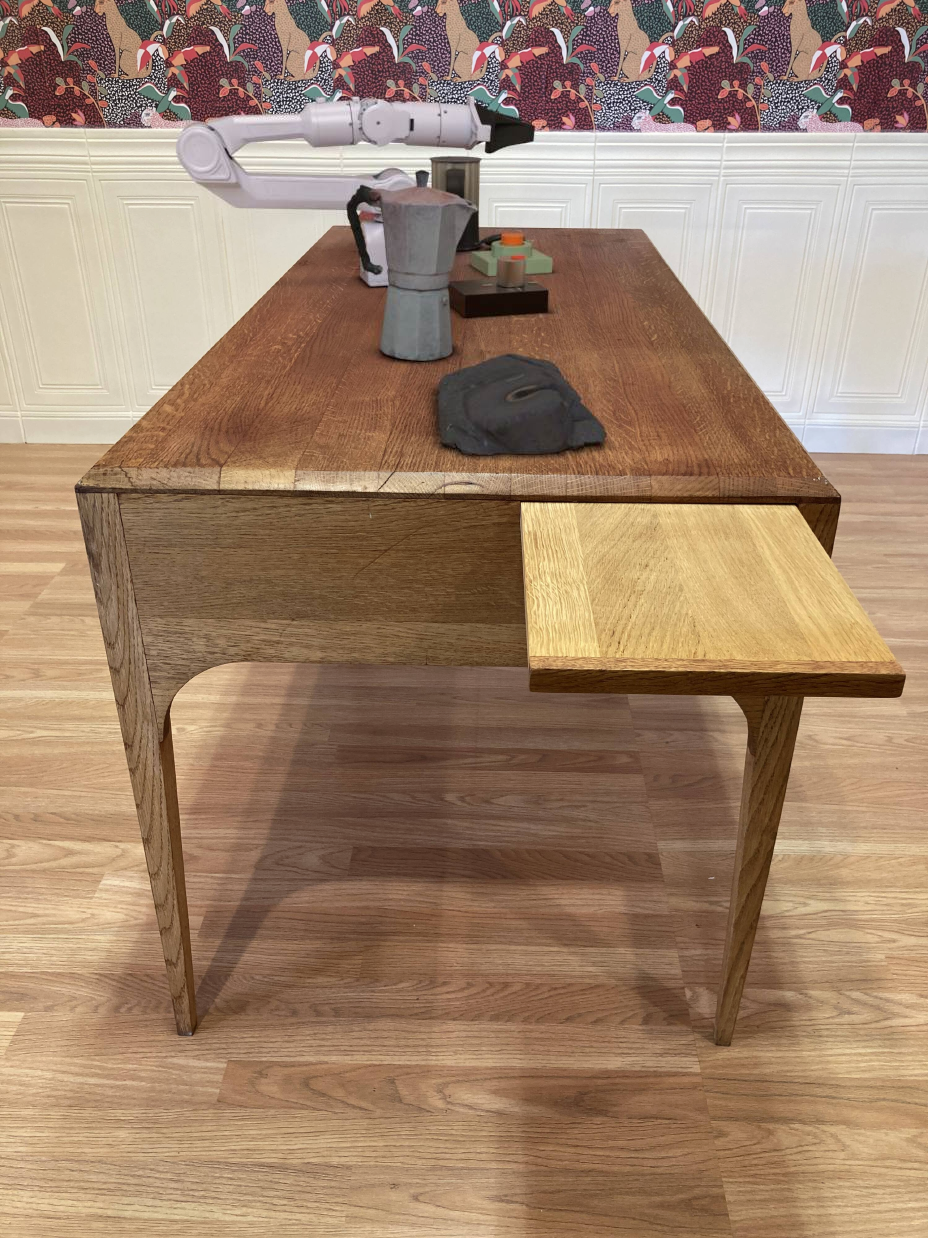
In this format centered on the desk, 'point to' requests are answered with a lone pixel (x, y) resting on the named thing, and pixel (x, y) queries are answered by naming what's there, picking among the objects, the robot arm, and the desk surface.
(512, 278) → the temp dial
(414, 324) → the moka pot
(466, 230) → the milk frother
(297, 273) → the desk surface
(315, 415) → the desk surface
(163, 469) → the desk surface
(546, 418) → the slotted grey rock
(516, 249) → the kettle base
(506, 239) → the button
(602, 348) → the desk surface
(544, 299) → the panel
